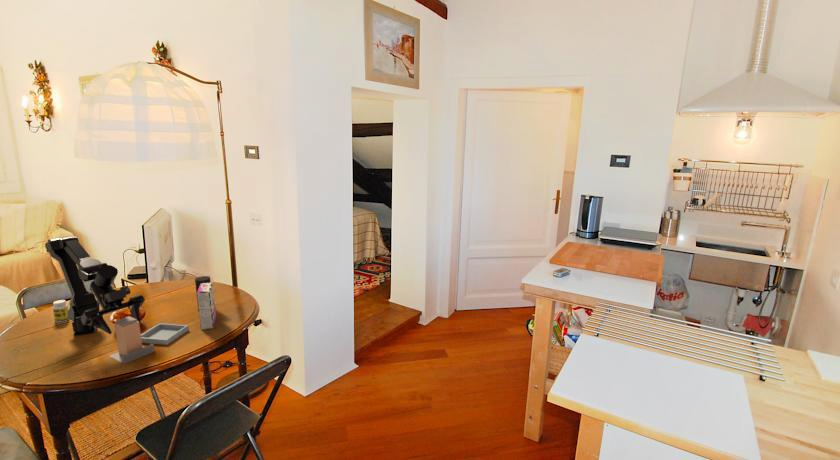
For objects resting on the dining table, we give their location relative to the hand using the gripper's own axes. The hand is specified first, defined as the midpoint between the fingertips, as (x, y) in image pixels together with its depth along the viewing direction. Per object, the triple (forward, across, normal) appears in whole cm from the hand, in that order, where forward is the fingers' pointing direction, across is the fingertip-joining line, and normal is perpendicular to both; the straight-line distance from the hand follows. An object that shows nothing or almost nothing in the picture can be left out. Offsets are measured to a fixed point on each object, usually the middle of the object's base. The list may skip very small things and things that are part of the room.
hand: (125, 328), depth 146 cm
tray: (+6, +13, +8) cm, 16 cm away
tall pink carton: (+8, 0, +6) cm, 9 cm away
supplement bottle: (-30, 0, +43) cm, 52 cm away
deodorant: (-1, +37, +15) cm, 40 cm away
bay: (+8, 0, +6) cm, 10 cm away
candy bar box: (+9, +29, +5) cm, 31 cm away
